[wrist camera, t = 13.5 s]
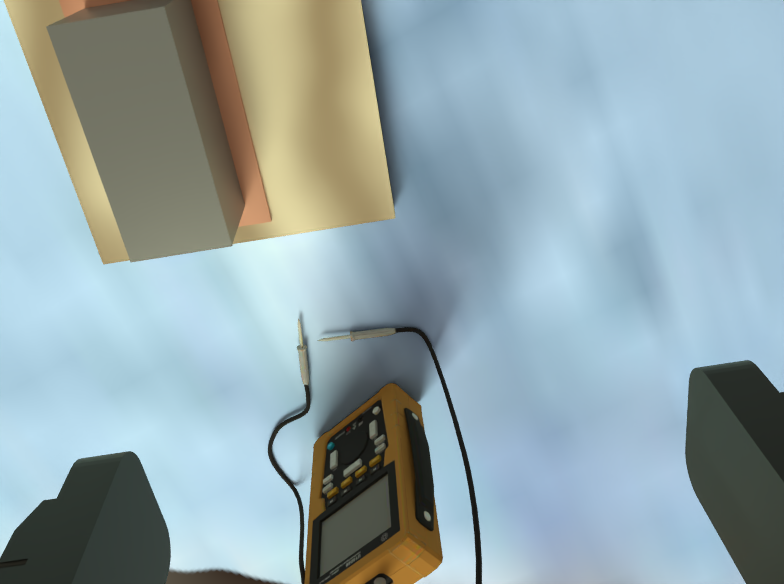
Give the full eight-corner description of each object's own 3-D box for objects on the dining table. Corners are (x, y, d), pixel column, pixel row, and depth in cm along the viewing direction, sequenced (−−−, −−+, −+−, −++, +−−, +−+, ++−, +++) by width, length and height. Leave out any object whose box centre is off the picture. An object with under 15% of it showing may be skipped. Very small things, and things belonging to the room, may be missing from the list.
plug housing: (188, -10, 34) (164, 6, 30) (245, 205, 39) (231, 246, 35) (85, 8, 34) (45, 26, 30) (155, 220, 39) (130, 262, 35)
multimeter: (355, 266, 43) (359, 530, 26) (466, 368, 47) (536, 659, 29) (188, 411, 47) (93, 721, 30) (302, 493, 51) (278, 812, 34)
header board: (345, -95, 34) (345, -92, 30) (394, 207, 41) (399, 246, 37) (4, -37, 35) (-46, -25, 30) (111, 252, 42) (83, 295, 37)
